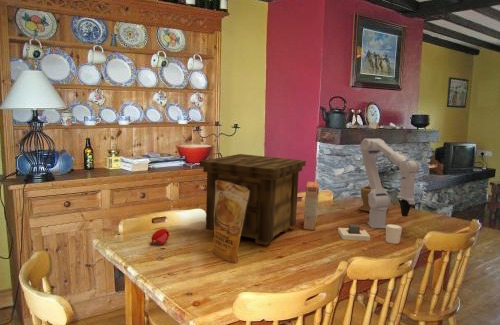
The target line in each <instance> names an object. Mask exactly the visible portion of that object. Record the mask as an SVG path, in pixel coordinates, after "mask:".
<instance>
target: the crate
mask: <svg viewBox="0 0 500 325" xmlns="http://www.w3.org/2000/svg"><path fill="white" fill-rule="evenodd" d="M306 163H307V160H301V159H294V158H293V159H292V158H285V157H284V158H282V157H272V156H262V155H252V154H244V153H238V154H232V155H227V156H222V157H216V158H210V159H204V160H200V161H199V167H202V168H203V170H202V172H203V173H206V202H205V203H206V206H205V207H206V208H205V209H206V211H205V230H207V231H212V234H213V235H214V208H215V181H217V180H222V181H226V182H230V183H233V184H236V185H240V186H244V187H247V188H248V189H249V191H250V197H249V201H248V204H247V208H246V213H245V219H244V222H243V227H242V232H241V236H240V237H246V238H249V239H251V238H252V239H255V242H254V243H255V244H257V245H264V246H267V245H268V244H269V243H271V241H273V240H274V238H275V236H277V235H279V234H280V233H281V232H283V233H286V232H288V231H290V227H291V228H292V227H293V226H296V225H297V209H298V208H297V207H298V189H299V174H300V173H299V172H303V167H305V166H306V165H307V164H306Z"/></svg>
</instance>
